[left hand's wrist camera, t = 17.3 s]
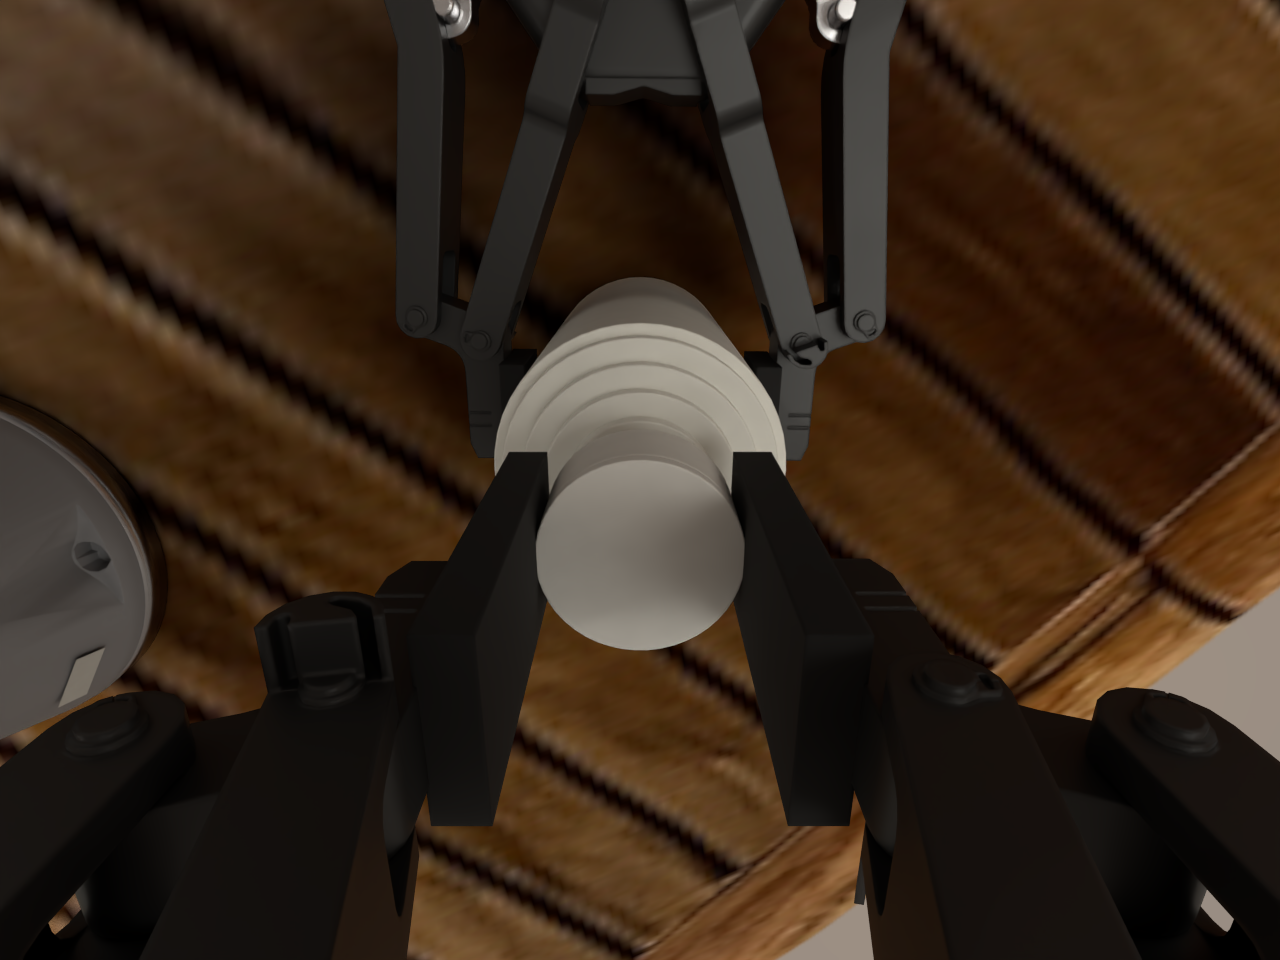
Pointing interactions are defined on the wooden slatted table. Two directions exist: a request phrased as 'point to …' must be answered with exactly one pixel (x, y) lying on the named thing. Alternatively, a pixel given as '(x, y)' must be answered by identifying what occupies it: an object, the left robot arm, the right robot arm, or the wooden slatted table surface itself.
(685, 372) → the bottle
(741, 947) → the wooden slatted table surface
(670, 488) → the cap
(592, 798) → the wooden slatted table surface
